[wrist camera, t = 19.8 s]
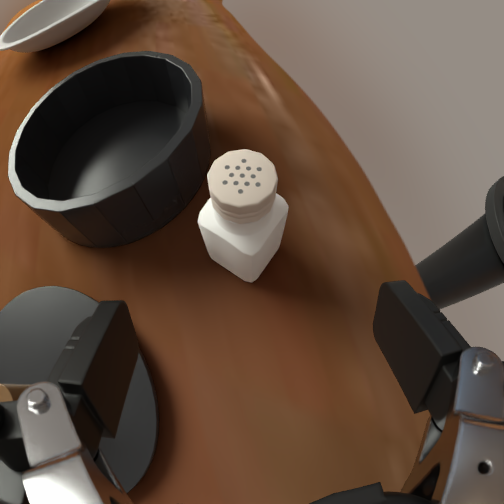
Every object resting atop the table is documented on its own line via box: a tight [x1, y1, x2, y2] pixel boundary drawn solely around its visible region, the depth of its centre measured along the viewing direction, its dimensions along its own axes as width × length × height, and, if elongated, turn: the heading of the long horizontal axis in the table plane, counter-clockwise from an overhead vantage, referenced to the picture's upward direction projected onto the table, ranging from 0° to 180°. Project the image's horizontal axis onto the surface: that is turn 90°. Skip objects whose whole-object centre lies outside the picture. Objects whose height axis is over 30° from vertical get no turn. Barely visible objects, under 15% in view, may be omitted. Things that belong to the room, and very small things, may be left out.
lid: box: [0, 286, 159, 493], centre depth 15 cm, size 18×18×7 cm
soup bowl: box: [0, 0, 110, 52], centre depth 33 cm, size 24×24×7 cm
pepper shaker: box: [198, 149, 289, 283], centre depth 18 cm, size 4×4×10 cm
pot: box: [8, 51, 210, 248], centre depth 23 cm, size 17×17×6 cm
